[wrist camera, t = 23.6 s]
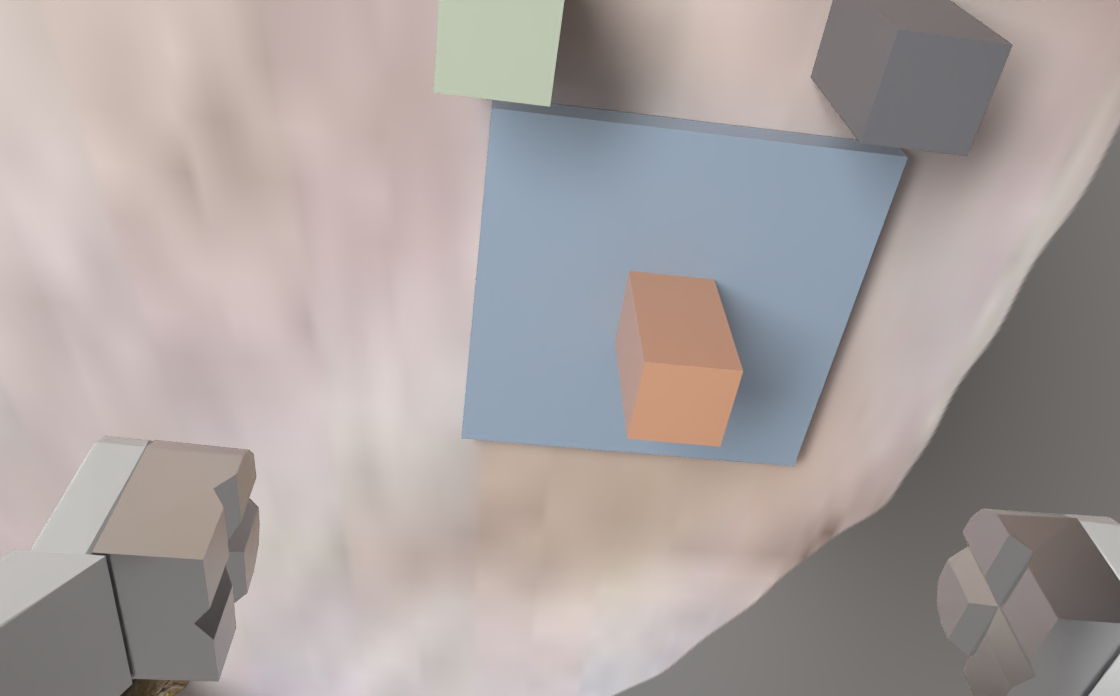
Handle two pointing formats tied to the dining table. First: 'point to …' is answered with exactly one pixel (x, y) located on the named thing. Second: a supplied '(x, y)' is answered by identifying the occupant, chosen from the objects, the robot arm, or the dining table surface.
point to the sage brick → (498, 49)
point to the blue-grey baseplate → (663, 267)
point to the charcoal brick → (909, 72)
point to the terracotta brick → (675, 360)
